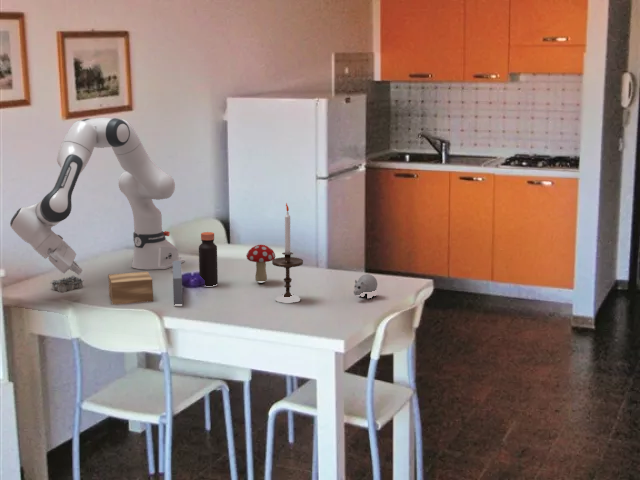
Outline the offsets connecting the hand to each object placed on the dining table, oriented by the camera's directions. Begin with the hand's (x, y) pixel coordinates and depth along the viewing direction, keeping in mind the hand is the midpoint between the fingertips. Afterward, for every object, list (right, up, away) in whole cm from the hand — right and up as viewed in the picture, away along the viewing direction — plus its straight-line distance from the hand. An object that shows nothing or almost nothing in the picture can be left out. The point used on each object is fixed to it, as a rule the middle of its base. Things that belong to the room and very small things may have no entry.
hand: (80, 272), depth 314 cm
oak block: (+17, -9, +5) cm, 20 cm away
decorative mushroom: (+62, -5, +25) cm, 67 cm away
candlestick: (+73, -10, +3) cm, 73 cm away
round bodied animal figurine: (+100, -10, +6) cm, 100 cm away
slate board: (+33, -9, +7) cm, 35 cm away
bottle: (+42, -6, +22) cm, 48 cm away
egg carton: (-10, -7, +18) cm, 21 cm away
